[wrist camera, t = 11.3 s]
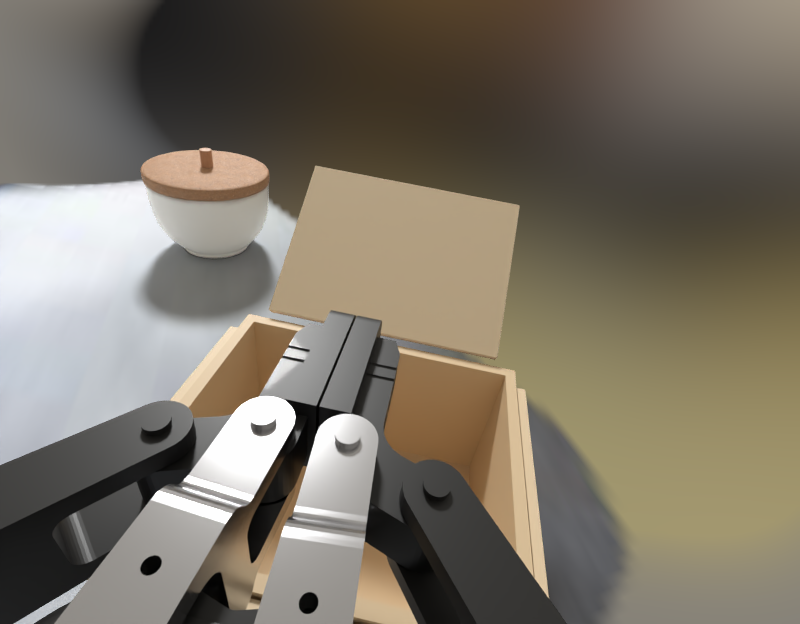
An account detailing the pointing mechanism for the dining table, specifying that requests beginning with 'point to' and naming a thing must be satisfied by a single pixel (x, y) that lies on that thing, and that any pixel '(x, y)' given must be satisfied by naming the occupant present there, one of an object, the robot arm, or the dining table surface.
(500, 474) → the carton
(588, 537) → the dining table surface
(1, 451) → the dining table surface
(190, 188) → the lidded jar
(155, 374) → the dining table surface
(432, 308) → the flap
